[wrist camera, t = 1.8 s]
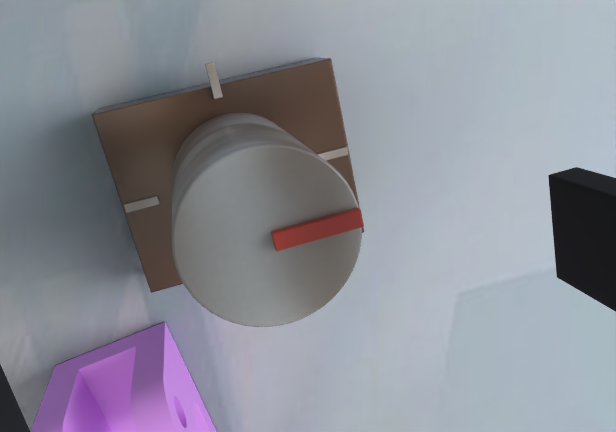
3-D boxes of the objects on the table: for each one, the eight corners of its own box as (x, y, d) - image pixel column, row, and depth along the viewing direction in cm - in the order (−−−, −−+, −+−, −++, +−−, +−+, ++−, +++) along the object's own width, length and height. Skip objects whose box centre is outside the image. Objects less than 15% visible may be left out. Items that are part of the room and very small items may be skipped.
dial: (192, 255, 25) (202, 355, 17) (155, 130, 23) (145, 175, 15) (314, 221, 26) (380, 301, 18) (287, 98, 24) (346, 124, 16)
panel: (158, 289, 28) (156, 312, 25) (92, 87, 25) (83, 92, 22) (352, 233, 29) (369, 251, 27) (313, 37, 26) (328, 36, 24)
